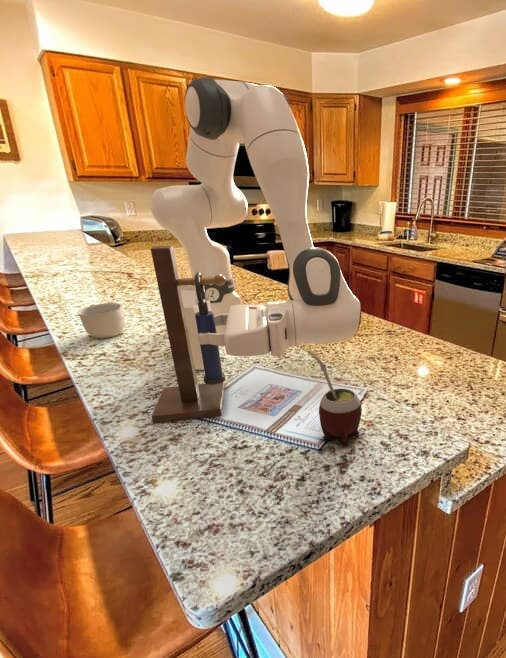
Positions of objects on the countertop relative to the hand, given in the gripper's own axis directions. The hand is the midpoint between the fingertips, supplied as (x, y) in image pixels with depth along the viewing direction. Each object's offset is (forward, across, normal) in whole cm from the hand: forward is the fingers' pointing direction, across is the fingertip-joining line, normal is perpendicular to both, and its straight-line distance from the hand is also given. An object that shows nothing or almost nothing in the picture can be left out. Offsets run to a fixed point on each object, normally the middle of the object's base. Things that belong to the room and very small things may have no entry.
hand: (201, 330), depth 78 cm
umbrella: (-1, 0, +10) cm, 10 cm away
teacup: (+34, -51, +15) cm, 63 cm away
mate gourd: (-22, +18, +15) cm, 32 cm away
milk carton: (+5, -21, +15) cm, 26 cm away
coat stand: (+2, 0, +15) cm, 15 cm away
